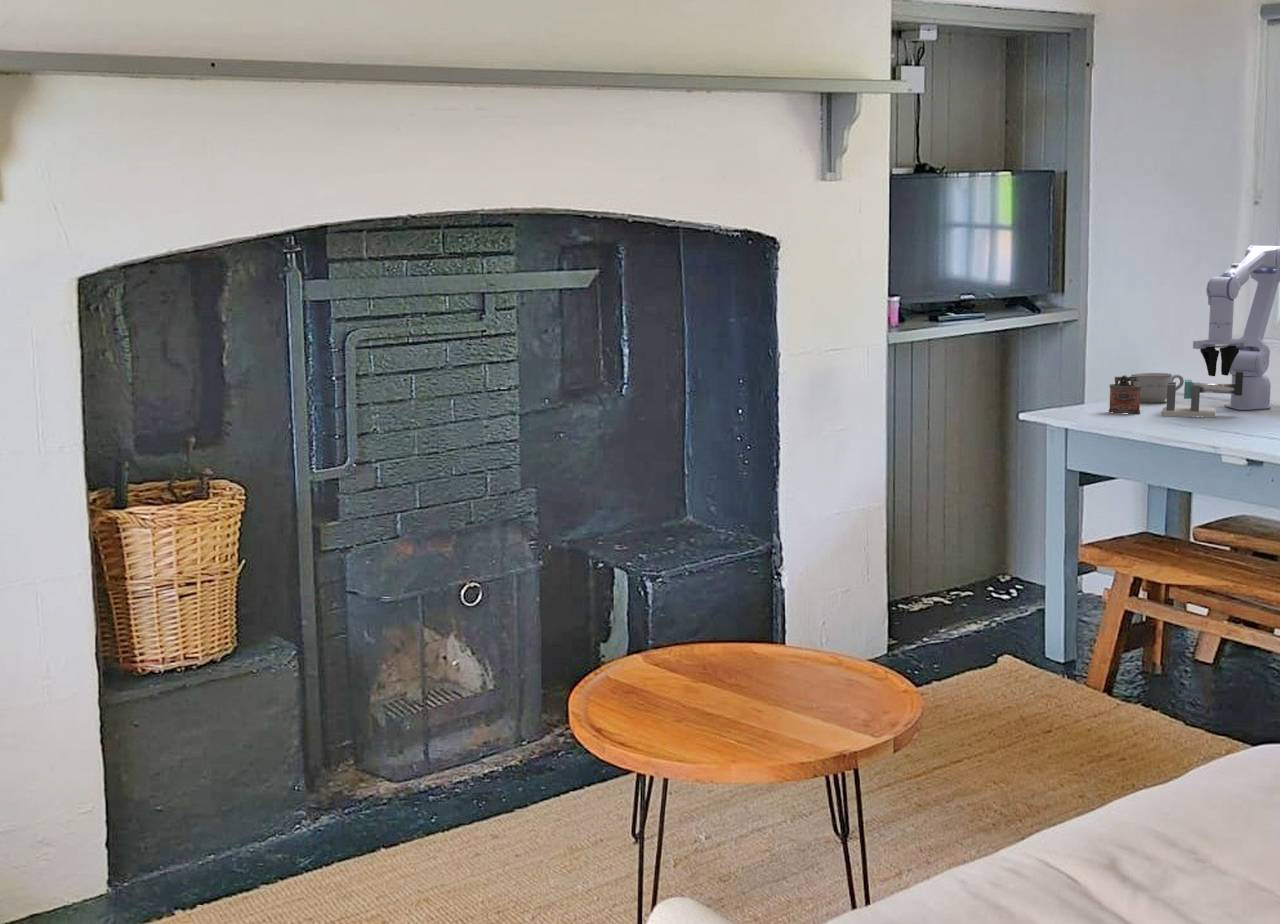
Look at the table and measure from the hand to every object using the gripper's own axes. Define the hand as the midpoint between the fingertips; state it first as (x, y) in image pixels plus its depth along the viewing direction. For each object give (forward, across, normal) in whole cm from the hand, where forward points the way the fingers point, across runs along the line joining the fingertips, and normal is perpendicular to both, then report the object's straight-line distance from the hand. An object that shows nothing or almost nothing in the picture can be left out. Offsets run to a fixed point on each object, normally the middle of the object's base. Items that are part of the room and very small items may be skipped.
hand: (1218, 375), depth 406 cm
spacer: (+6, +6, -4) cm, 9 cm away
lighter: (+11, +20, -11) cm, 25 cm away
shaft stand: (+10, +6, -4) cm, 13 cm away
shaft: (+5, +1, 0) cm, 5 cm away
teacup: (+11, +2, -26) cm, 28 cm away
